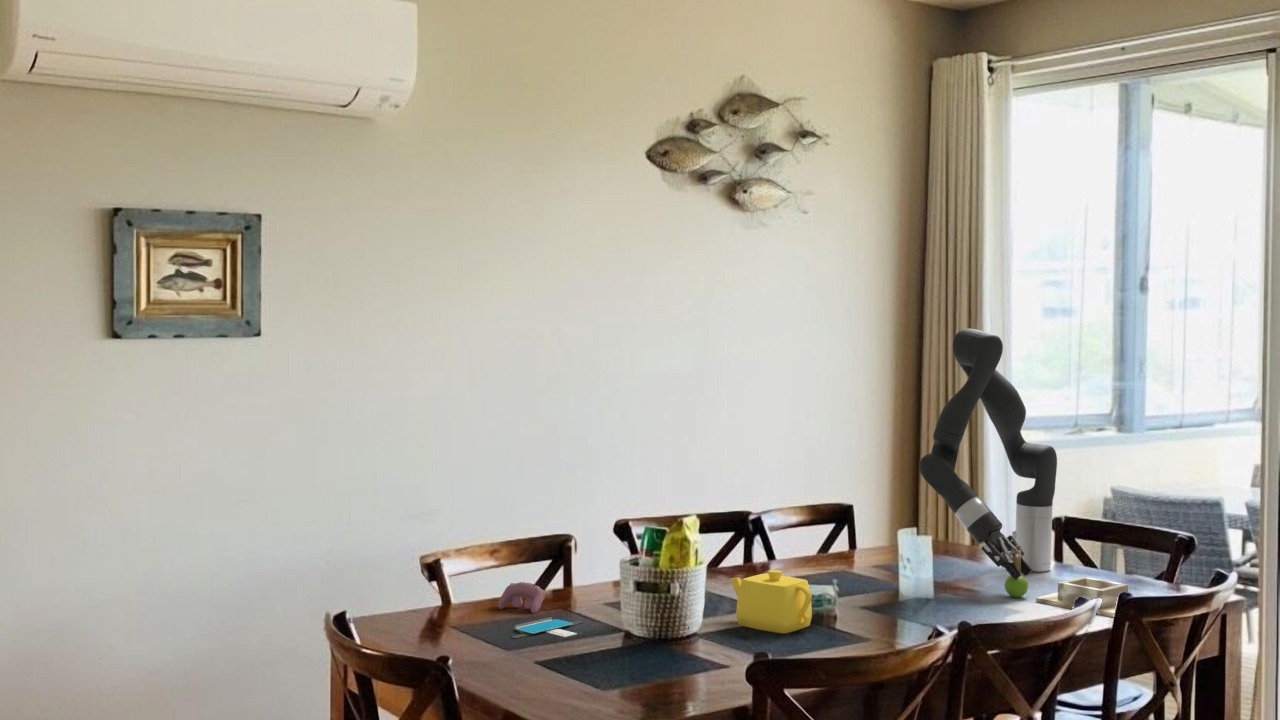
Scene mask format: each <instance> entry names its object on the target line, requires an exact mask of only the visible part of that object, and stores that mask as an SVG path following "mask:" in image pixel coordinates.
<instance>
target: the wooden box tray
mask: <svg viewBox="0 0 1280 720" xmlns="http://www.w3.org/2000/svg"><path fill="white" fill-rule="evenodd" d="M1121 592H1128V593H1129V584H1126V583H1120V582H1115V581H1110V580H1105V579H1099V578H1092V577H1087V576H1082V577H1077V578H1073V579H1072V578H1071V579H1068V580H1063V581H1059V582H1058V583H1057V592H1053V593H1050V594H1049V593H1048V594H1046V595H1042V596H1037V597H1035V602H1036V603H1040V604H1045V605H1051V606H1055V607H1059V608H1065V609H1070V608H1072V607H1073V606H1074V601H1075V600H1076V598H1078V597H1085V598H1087V599H1088V600H1093V599H1097V598H1101V599H1102V603H1101V606H1100V608H1099V613H1100V614H1101V615H1100V616H1105V617H1110V618H1114V617H1113V615H1114V612H1115V606H1116V601H1117V597H1118V594H1119V593H1121Z"/></svg>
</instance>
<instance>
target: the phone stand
mask: <svg viewBox="0 0 1280 720" xmlns="http://www.w3.org/2000/svg"><path fill="white" fill-rule="evenodd" d="M582 623H584V621H580V620H576V621H573V622H570V621H566V620H562V619H559V618H557V619H555V618H554V619H553V617H552V616H550V617H546V618H545V617H544V618H540V619H536V620H532V621H528V622H523V623H518V624H514V631H517V632H518V633H520V634H516V635H512V636H511V638H513V639H519V638H522V637H523V638H524V637H529V636H534V635H537V634H541V633H546V634H550V635H555V636H559V637H562V638H567V637H572V636H575V635H578V633H577V632H572V631H570V630H564V629H563V628H567V627H571V626H576V625H578V624H582Z"/></svg>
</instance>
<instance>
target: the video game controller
mask: <svg viewBox="0 0 1280 720" xmlns="http://www.w3.org/2000/svg"><path fill="white" fill-rule="evenodd" d="M522 597H527V598H526V599H525V600H524V602H523V599H522ZM545 598H546V592H545V590H544V589H542V588H541V587H540V586H538V585H536V584H534V583H532V582H524V581H522V582H521V581H520V582H511V583H509V585H507V586H506V588H505V589H504V591H503V593H502V594H501V596H500V598H499V600H498V603H497V606H498V609H500V610H502V609H504V608H506V607H507V606H508V604H509V603H510V602H511V606H512V607H514V608H516V609H519V608H521V607H522V606H524V608H525V609H527V610H528V611H529V610H530V611H531V613H532V614H536V613H537V612H538V611H539V610H540V608H541V606H542V603H543V601H544V600H545Z"/></svg>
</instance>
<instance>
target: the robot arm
mask: <svg viewBox="0 0 1280 720" xmlns="http://www.w3.org/2000/svg"><path fill="white" fill-rule="evenodd" d="M1003 349H1004V346H1003V341H1002V339H1001V337H1000V336H999V335H997V334H994V333H991V332H989V331H988V332H987V331H984V330H980V329H975V328H962V329H960V330H959V331H958V332H957V333H956V334H954V337H953V341H952V351H953V356H954V357H955V358H954V359H955V360H956V361H957V363H958V364H959V366H960V368H961V369H962V370H963V372H964V373H965V375H966V376H967V377H968V378H967V380H966V382H965V383H964V385H962V387H961V388H960V389H959V390H958V391H957V392H956V393H955V394H954V395H953V396H952V397H951V398H950V399H949V400H948V401H947V402H946V403H945V405H944V407H943V408H942V410H941V413H940V415H939V417H938V419H937V422H936V425H935V429H934V431H933V434H932V435H933V436H932V439H933V446H932V449H931V451H930V453H927V454H925V455H923V456H922V457H921V459H920V461H919V464H918V468H919V469H918V470H919V473H920V475H921V477H922V478H923V479H924V480H925V481H926V483H928V484H929V486H930V487H931V488H932V489H933V490H934V491H935V492H936V493H937V494H938V495H939V496H940V497H941V498H942V499H943V500H944V502H945V503H946V505H947V506H948V507H949V509H950V510H951V511H952V512H953V513H954V514H955V516H956V517H957V520H958V521H959V522H960V524H961V525H962V526H963V528H965V529H966V531H967V532H968V533H969V535H970V536H971V538H973V540H974V541H975V542H976V543H977V544H978V545H982V544H983V546H981V547H980V548H981V550H982V551H983V553H985V555H987V557H988V558H989V559H990V560H991V562H992V563H994V564H995V565H996V566H997V568H999V567H1001V568H1002V569H1005V570H1006V571H1007V572H1008V573H1009V576H1012V577H1013V579H1018V578H1019V577H1020V576H1024V577H1026V576H1029V575H1030V574H1031V573H1032V572H1038V573H1039V572H1049V571H1051V564H1052V563H1051V562H1052V561H1051V558H1052V536H1053V535H1052V533H1053V532H1052V531H1053V505H1054V504H1053V502H1054V500H1053V499H1054V496H1055V494H1056V493H1055V491H1056V478H1057V471H1058V469H1057V468H1058V456H1057V452H1056V449H1055V448H1054V447H1053V446H1052V445H1048V444H1042V443H1041V444H1040V443H1039V444H1038V443H1030V442H1027V441H1026V440H1025V439H1024V437H1023V435H1022V433H1021V431H1022V428H1023V425H1024V423H1025V420H1026V416H1027V409H1026V407H1025V404H1024V401H1023V400H1022V397H1021V395H1020V393H1019V392H1018V390H1017V388H1015V386H1014V385H1013V384H1012V383H1011V382H1010V381H1009V380H1008V379H1007V378H1006V377H1005V376H1004V375H1003V374H1001V373H1000V372H999V371H998V370H997V367H998V365H999V364H1000V362H1001V361H1000V360H1001V359H1002V355H1003ZM979 400H980V401H981V403H982V404H983V407H984V409H985V411H986V413H987V415H988V417H989V419H990V421H991V422H992V424H993V426H994V428H995V430H996V433H997V434H998V437H999V439H1000V440H1001V443H1002V445H1003V448H1004V451H1005V454H1006V457H1007V459H1008V461H1009V462H1008V463H1009V465H1010V466H1011V469H1012V471H1013V473H1014V474H1015V475H1017V476H1018V477H1022V478H1026V479H1032V480H1033V479H1034V485H1033V486H1032V487H1031V488H1029V489H1026V490H1022V491H1018V492H1017V494H1016V504H1015V505H1016V508H1015V530H1013V531H1012V532H1011V535H1008V536H1006V535H1004V534H1003V533H1002V532H1001V530H1002V528H1003V524H1002V522H1001V521H1000V520H999V519H998V517H997V516H996V515H995V513H994V512H993V511H992V510H991V509H990V507H988V505H987V503H985V502H984V501H983V500H982V499H981V498H980V497H979V496H978V495H977V493H975V491H974V490H973V488H971V486H970V485H969V484H968V483H967V482H965V480H963V479H961V478H960V477H959V475H958V474H957V473H956V471H955V469H956V465H957V460H958V455H959V450H960V445H961V442H962V440H963V438H964V435H965V434H966V433H965V432H966V431H967V427H968V424H969V421H970V418H971V416H972V414H973V411H974V409H975V407H976V405H977V403H978V402H979ZM1016 545H1018V547H1016ZM1019 545H1021V547H1019ZM1017 550H1020V551H1021V555H1020V557H1021V571H1019V569H1018V568H1017V567H1016V566H1015V565H1014V563H1013V559H1014V556H1015V555H1016V551H1017Z"/></svg>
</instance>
